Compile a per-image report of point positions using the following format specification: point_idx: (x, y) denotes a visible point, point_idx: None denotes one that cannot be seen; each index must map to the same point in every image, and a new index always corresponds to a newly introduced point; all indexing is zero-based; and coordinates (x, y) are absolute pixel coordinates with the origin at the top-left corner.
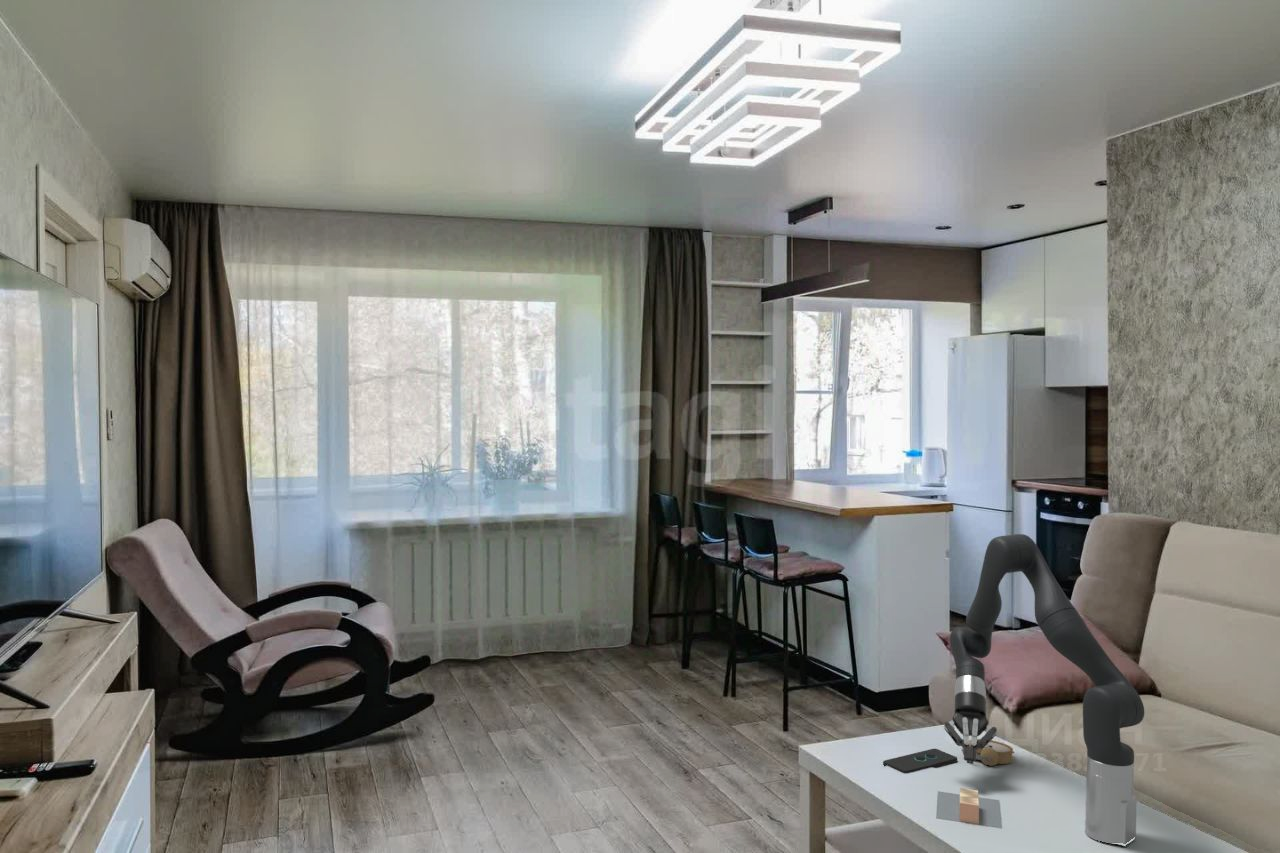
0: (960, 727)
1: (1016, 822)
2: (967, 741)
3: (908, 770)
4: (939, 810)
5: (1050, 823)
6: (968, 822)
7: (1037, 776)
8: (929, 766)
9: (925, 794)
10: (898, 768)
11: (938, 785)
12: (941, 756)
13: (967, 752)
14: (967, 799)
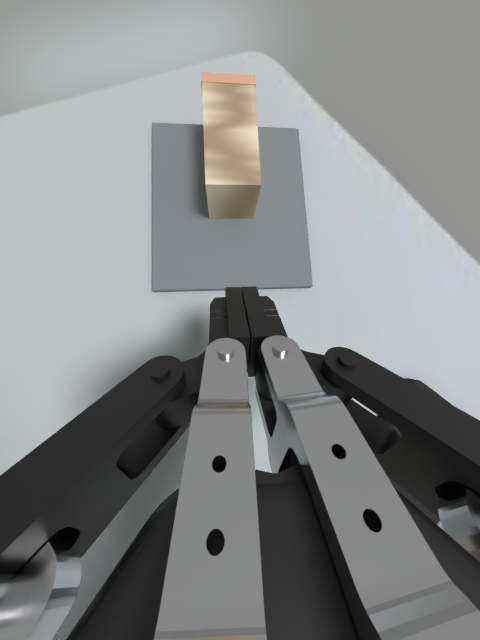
0: (419, 516)
1: (117, 183)
2: (276, 357)
3: None
4: (295, 170)
5: (29, 206)
6: None
7: None
8: None
9: (336, 269)
10: (436, 394)
11: (314, 344)
12: None
13: (259, 305)
14: (234, 107)
